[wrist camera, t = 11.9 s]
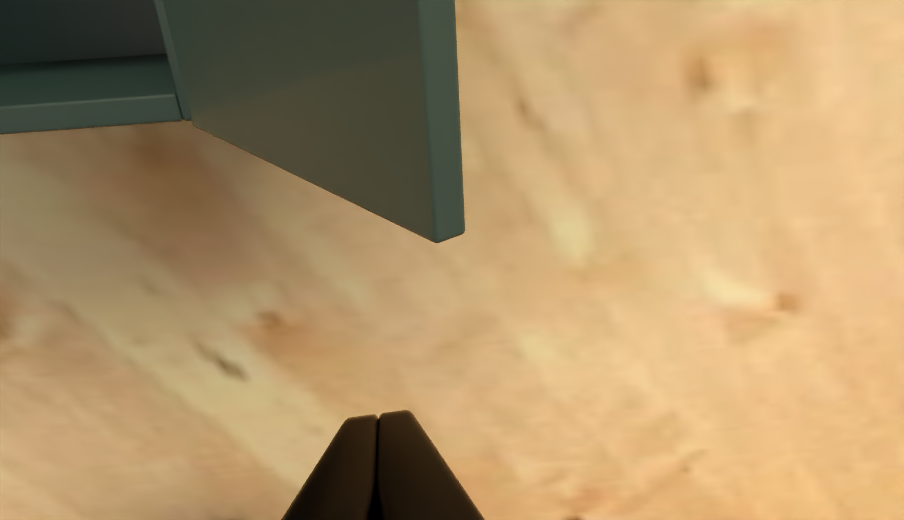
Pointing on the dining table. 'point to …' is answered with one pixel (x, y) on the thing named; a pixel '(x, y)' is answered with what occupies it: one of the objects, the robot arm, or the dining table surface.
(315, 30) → the flap
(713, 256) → the dining table surface
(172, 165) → the dining table surface
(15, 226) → the dining table surface
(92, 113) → the carton
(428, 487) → the robot arm
